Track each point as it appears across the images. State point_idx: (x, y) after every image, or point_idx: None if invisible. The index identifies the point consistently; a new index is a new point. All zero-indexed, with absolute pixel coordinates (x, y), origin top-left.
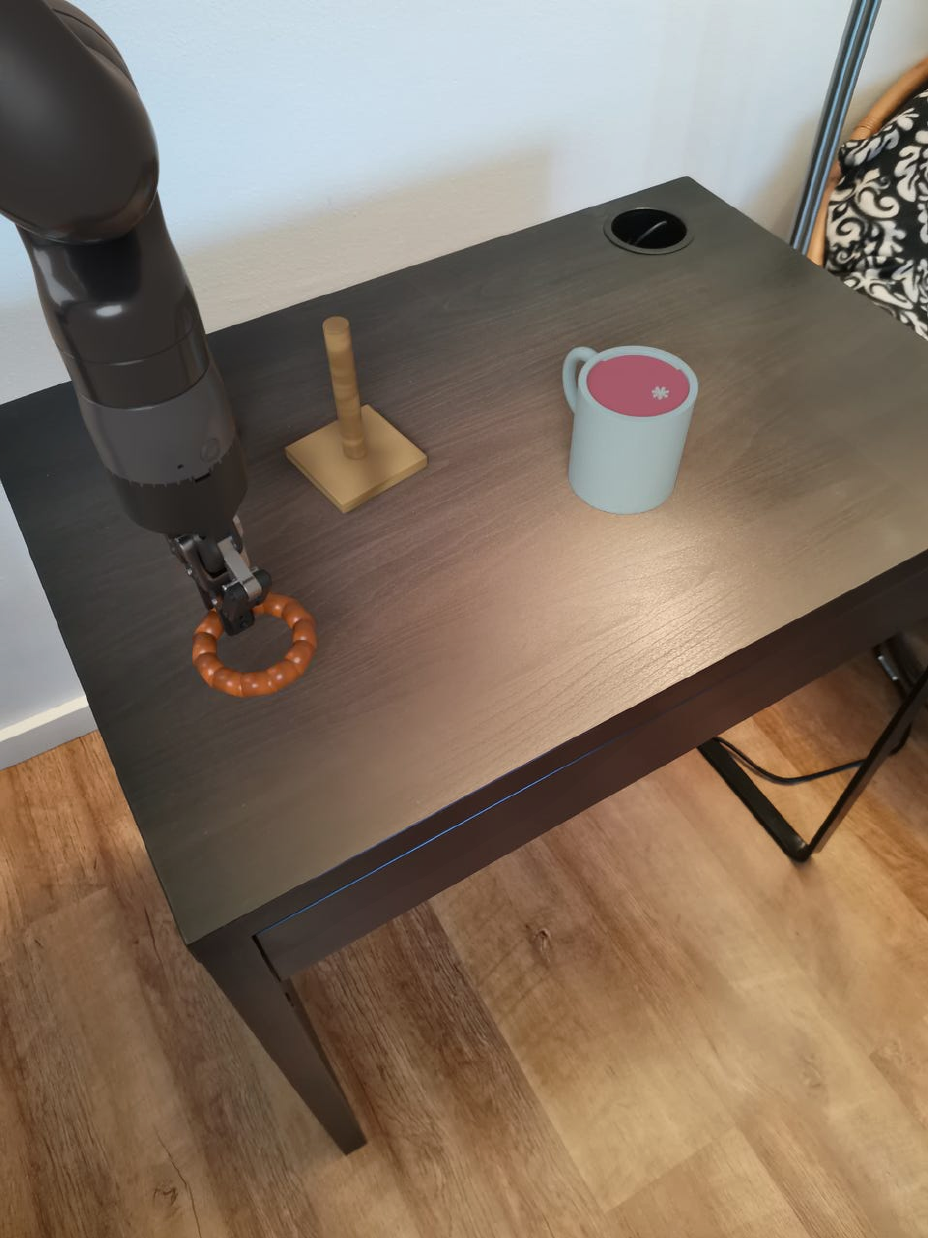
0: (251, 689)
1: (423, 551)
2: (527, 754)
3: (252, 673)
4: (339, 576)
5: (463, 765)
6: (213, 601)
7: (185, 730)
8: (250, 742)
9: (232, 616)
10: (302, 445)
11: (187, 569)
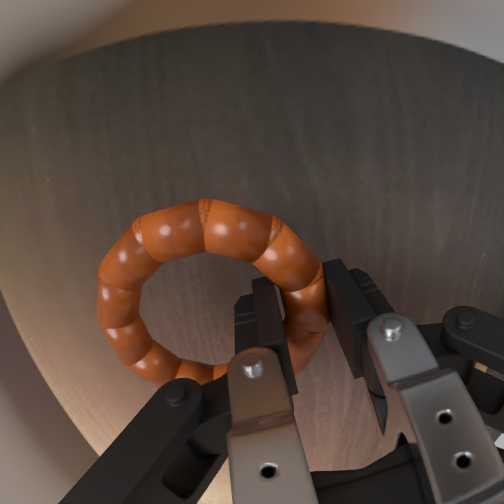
0: (97, 291)
1: (307, 430)
2: (68, 412)
3: (122, 307)
4: (329, 370)
5: (61, 380)
6: (248, 371)
7: (181, 122)
8: (125, 208)
9: (131, 424)
10: (481, 370)
11: (403, 325)
